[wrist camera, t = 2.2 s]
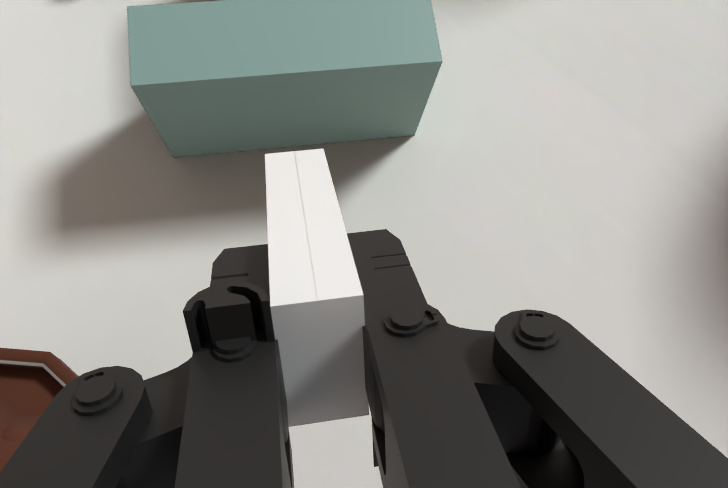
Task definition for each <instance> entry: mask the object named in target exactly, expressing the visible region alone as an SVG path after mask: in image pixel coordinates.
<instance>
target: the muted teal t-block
mask: <svg viewBox="0 0 728 488" xmlns="http://www.w3.org/2000/svg"><path fill="white" fill-rule="evenodd" d="M127 17H128V39H129V62H130V84H131V87H132V89H133V91H134V92H135V94H136V96H137V97H138V99H139V101H140V102H141V104H142V106H143V107H144V109H145V111H146V112H147V114H148V116H149V117H150V119H151V121H152V122H153V124H154V126H155V127H156V129H157V131H158V132H159V134H160V136H161V137H162V139H163V141H164V142H165V144H166V146H167V147H168V149H169V151H170V152H171V154H172V156H173V157H174V158H175V157H186V156H197V155H207V154H218V153H229V152H240V151H250V150H261V149H272V148H283V147H294V146H304V145H315V144H326V143H337V142H347V141H358V140H369V139H380V138H390V137H401V136H412V135H415V132H416V130H417V127H418V124H419V122H420V119H421V116H422V114H423V111H424V108H425V106H426V103H427V100H428V98H429V95H430V93H431V90H432V87H433V85H434V82H435V79H436V77H437V74H438V71H439V69H440V66H441V64H442V56H441V51H440V46H439V40H438V35H437V30H436V24H435V19H434V14H433V8H432V3H431V0H220V1H204V2H189V3H173V4H158V5H142V6H127Z"/></svg>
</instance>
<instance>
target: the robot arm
mask: <svg viewBox="0 0 728 488" xmlns="http://www.w3.org/2000/svg"><path fill="white" fill-rule="evenodd" d="M265 173H266V201H267V229H268V244H264V245H255V246H246V247H237V248H228V249H224V250H223V251H222V252H221V254H220V255H219V256H218V257H217V259H216V260H215V261H214V262H213V267H212V275H211V284H210V287H208V288H206V289H204V290H202V291H200V292H198V293H197V294H196V295H194V296H193V297H192V298H191V299H190V300H189V301H188V302H187V304H186V306H185V308H184V310H183V314H184V318H185V322H186V326H187V330H188V334H189V339H190V343H191V347H192V351H193V355H192V357H191V358H190V359H189V360H188V361H187V362H185V363H183V364H182V365H180V366H179V367H177V368H175V369H173V370H170V371H168V372H166V373H163V374H161V375H158V376H155V377H152V378H149V379H147V380H144V381H143V379H142V376H141V375H140V374H139V373H137V372H136V371H135V370H133V369H131V368H126V367H121V366H113V367H103V368H99V369H96V370H93V371H90V372H87V373H84V374H82V375H81V376H79V377H77V378H76V379H74V380H72V381H71V382H69V383H68V384H67V385H66V386H65V387H64V388H63V389H62V390H61V391H60V392H59V393H58V394H57V395H56V396H55V397H54V399H53V400H52V401H51V403H50V404H49V406H48V407H47V408H46V410H45V411H44V412H43V414H42V415H41V417H40V418H39V419H38V421H37V422H36V424H35V425H34V426H33V428H32V429H31V430H30V432H29V433H28V435H27V436H26V437H25V439H24V440H23V442H22V443H21V444H20V446H19V447H18V448H17V450H16V451H15V453H14V454H13V455H12V457H11V458H10V460H9V461H8V462H7V464H6V465H5V466H4V468H3V469H2V471H1V472H0V488H294V479H293V464H292V450H291V443H290V437H289V429H288V427H290V426H297V425H304V424H310V423H317V422H324V421H330V420H337V419H344V418H351V417H357V416H364V415H369V407H370V411H371V416H372V433H373V457H374V467H376V466H379V470H380V474H381V479H382V484H383V488H728V458H727V457H725V456H724V455H723V454H722V453H721V452H720V451H718V450H717V449H716V448H715V447H714V446H713V445H711V444H710V443H709V442H708V441H707V440H706V439H704V438H703V437H702V436H701V435H700V434H698V433H697V432H696V431H695V430H694V429H693V428H691V427H690V426H689V425H688V424H687V423H686V422H684V421H683V420H682V419H681V418H680V417H679V416H677V415H676V414H675V413H674V412H673V411H671V410H670V409H669V408H668V407H667V406H666V405H664V404H663V403H662V402H661V401H660V400H659V399H657V398H656V397H655V396H654V395H653V394H652V393H650V392H649V391H648V390H647V389H646V388H645V387H643V386H642V385H641V384H640V383H639V382H637V381H636V380H635V379H634V378H633V377H632V376H630V375H629V374H628V373H627V372H626V371H625V370H623V369H622V368H621V367H620V366H619V365H618V364H616V363H615V362H614V361H613V360H612V359H610V358H609V357H608V356H607V355H606V354H605V353H603V352H602V351H601V350H600V349H599V348H598V347H596V346H595V345H594V344H593V343H592V342H591V341H589V340H588V339H587V338H586V337H585V336H584V335H582V334H581V333H580V332H579V331H578V330H576V329H575V328H574V327H573V326H572V325H571V324H569V323H568V322H566V321H565V320H563V319H561V318H560V317H558V316H556V315H553V314H550V313H547V312H544V311H536V310H521V311H515V312H511V313H509V314H507V315H505V316H503V317H501V319H500V320H499V321H498V323H497V324H496V325H495V332H492V331H481V330H471V329H465V328H459V327H456V326H453V325H450V324H448V323H447V322H446V320H445V318H444V317H443V316H442V314H441V313H440V312H439V310H437V309H435V308H434V307H432V306H430V305H428V304H427V302H426V300H425V297H424V295H423V293H422V290H421V288H420V286H419V283H418V281H417V278H416V276H415V274H414V271H413V269H412V267H411V266H410V262H409V260H408V257H407V256H406V253H405V250H404V248H403V246H402V243H401V241H400V239H398V238H397V237H396V236H394V235H393V234H392V233H390V232H389V231H388V230H386V229H384V230H375V231H366V232H357V233H348V234H347V233H346V229H345V226H344V222H343V218H342V215H341V211H340V207H339V204H338V200H337V196H336V193H335V189H334V185H333V182H332V178H331V174H330V171H329V167H328V163H327V160H326V156H325V152H324V149H313V150H302V151H291V152H281V153H270V154H265ZM368 402H369V403H368Z"/></svg>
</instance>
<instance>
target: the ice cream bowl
mask: <svg viewBox="0 0 728 488" xmlns="http://www.w3.org/2000/svg"><path fill="white" fill-rule="evenodd" d="M77 377H79V376H78V375H77V374H75V373H74V372H73V371H72V370H71V369H70V368H69V367H68V366H67V365H66V364H65V363H64V362H63V361H61V360H60V359H59V358H57V357H56V356H55V355H53V354H52V353H51V352H44V351H32V350H20V349H8V348H0V472H1V471H2V469H3V468H4V466H5V465H6V464H7V462H8V461H9V460H10V458H11V457H12V455H13V454H14V453H15V451H16V450H17V448H18V447H19V446H20V444H21V443H22V442H23V440H24V439H25V437H26V436H27V435H28V433H29V432H30V430H31V429H32V428H33V426H34V425H35V424H36V422H37V421H38V419H39V418H40V417H41V415H42V414H43V412H44V411H45V410H46V408H47V407H48V406H49V404H50V403H51V401H52V400H53V399H54V397H55V396H56V395H57V394H58V393H59V392H60V391H61V390H62V389H63V388H64V387H65V386H66V385H67V384H68V383H69V382H71V381H72V380H74V379H76V378H77Z"/></svg>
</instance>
